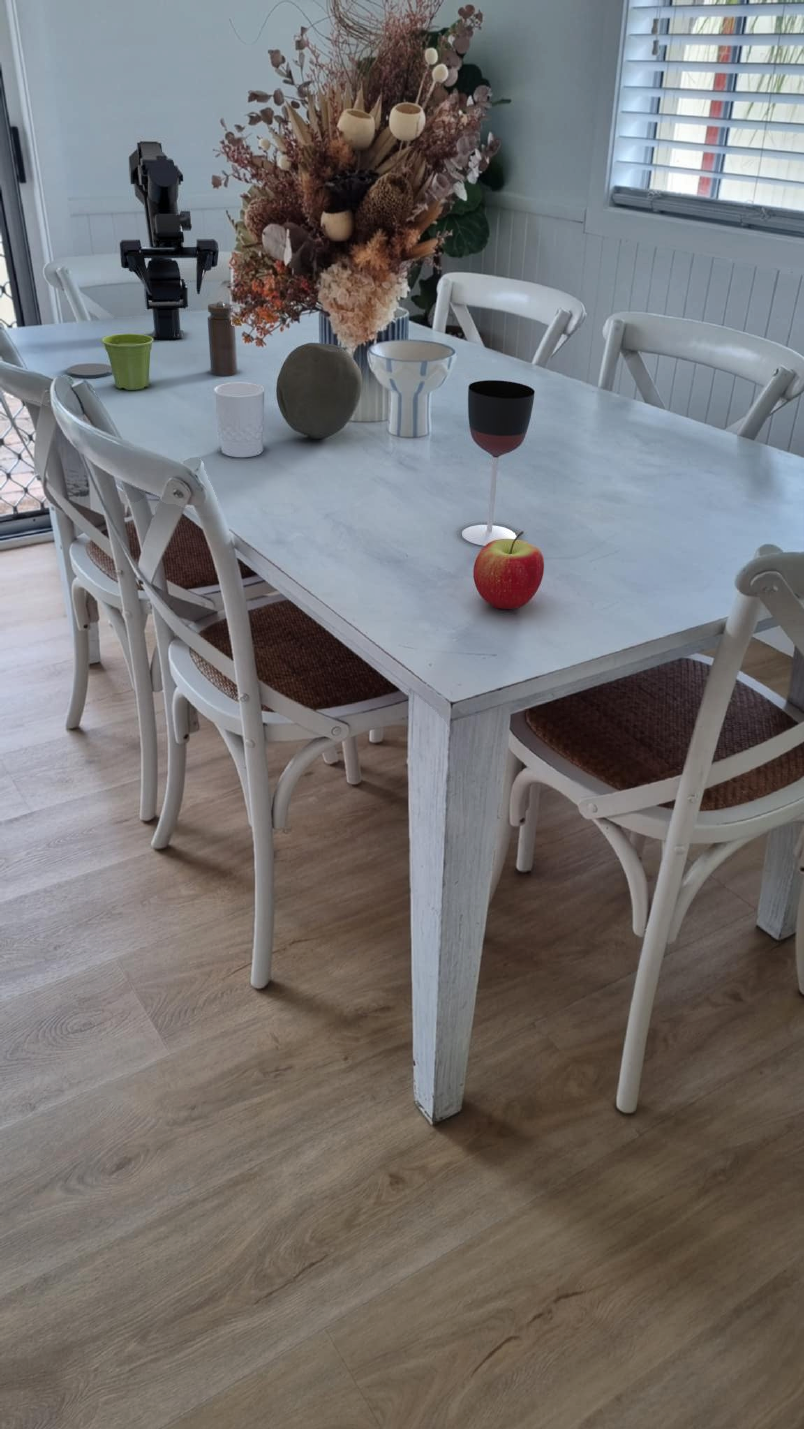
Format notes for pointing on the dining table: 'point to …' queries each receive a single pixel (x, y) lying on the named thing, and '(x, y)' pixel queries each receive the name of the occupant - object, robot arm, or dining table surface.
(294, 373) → the smooth river stone
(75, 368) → the coaster
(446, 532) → the dining table surface
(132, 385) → the plant pot
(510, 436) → the wineglass
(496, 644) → the dining table surface
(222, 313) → the pepper mill
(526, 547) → the apple
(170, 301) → the robot arm
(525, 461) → the dining table surface
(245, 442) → the white cup
